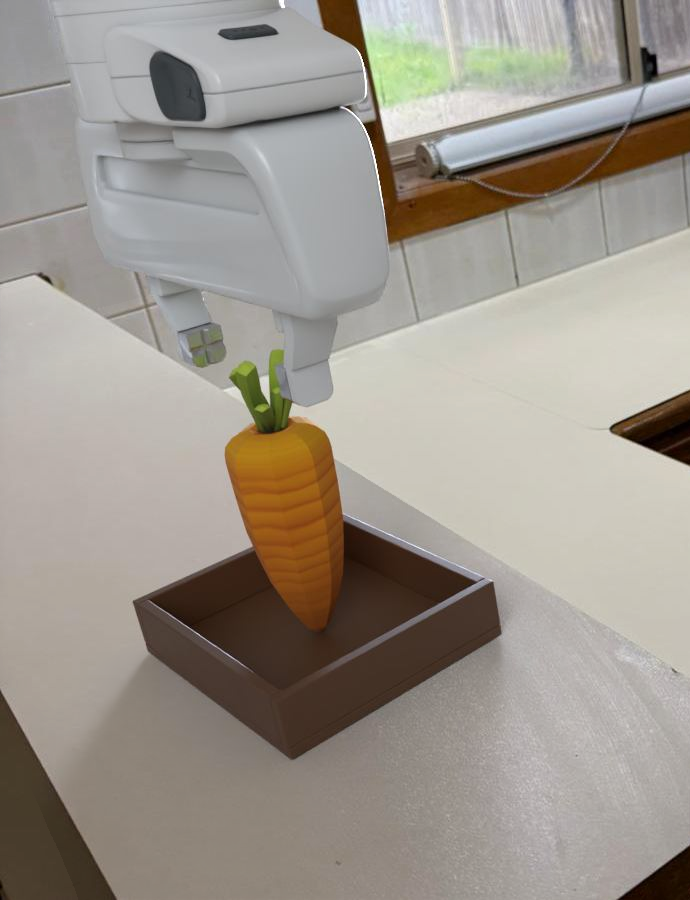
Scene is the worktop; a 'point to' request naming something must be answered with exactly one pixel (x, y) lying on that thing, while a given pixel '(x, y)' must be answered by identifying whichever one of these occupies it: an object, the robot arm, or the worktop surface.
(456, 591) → the tray
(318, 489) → the carrot
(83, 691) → the worktop surface
